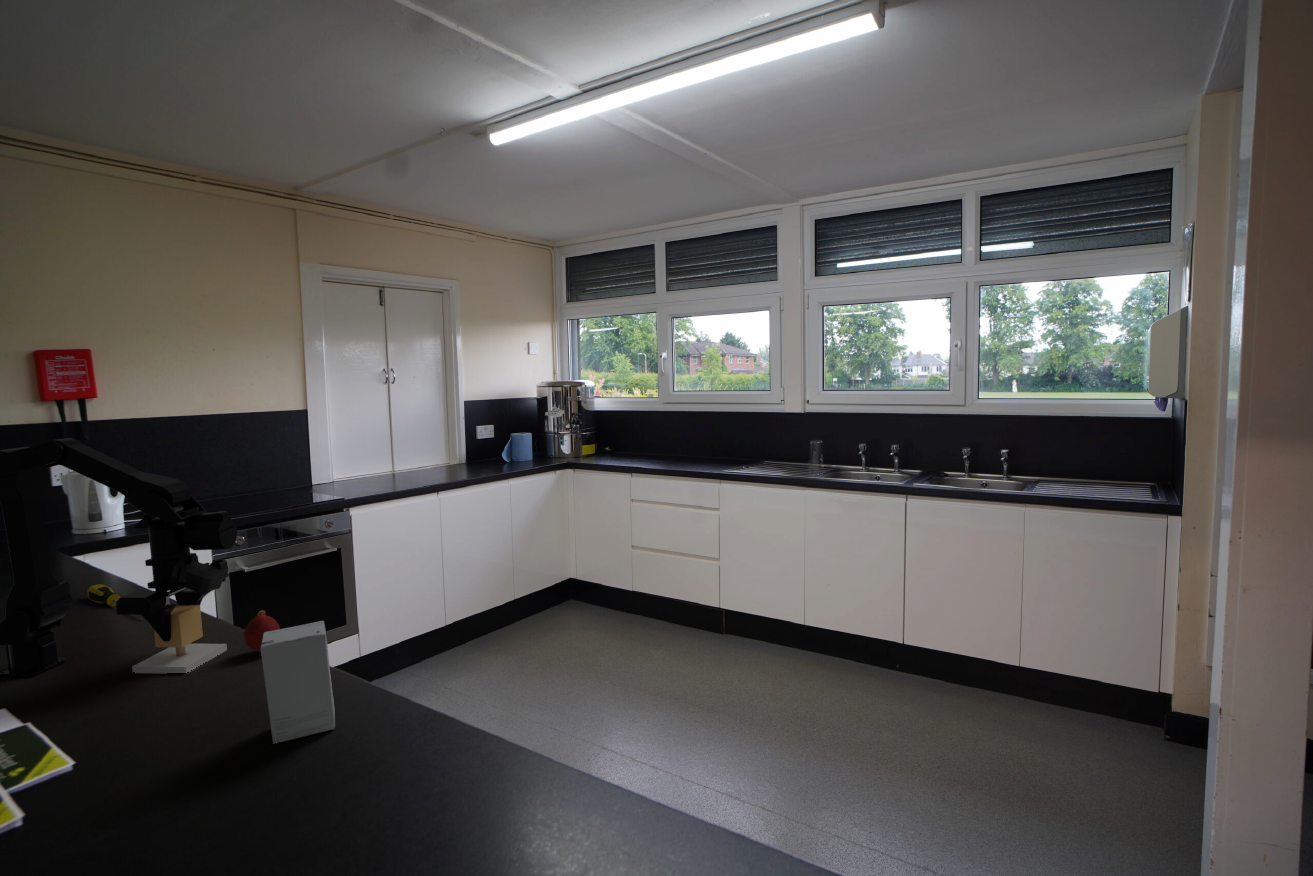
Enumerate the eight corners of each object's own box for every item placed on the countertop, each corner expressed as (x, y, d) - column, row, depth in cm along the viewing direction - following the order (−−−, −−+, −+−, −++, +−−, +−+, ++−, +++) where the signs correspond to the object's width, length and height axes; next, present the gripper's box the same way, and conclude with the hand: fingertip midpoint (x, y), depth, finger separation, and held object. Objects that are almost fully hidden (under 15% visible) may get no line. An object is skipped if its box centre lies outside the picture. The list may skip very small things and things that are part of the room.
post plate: (132, 673, 119) (129, 641, 118) (177, 649, 129) (174, 620, 128) (186, 673, 118) (183, 642, 118) (227, 650, 128) (224, 620, 128)
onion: (265, 660, 123) (261, 617, 122) (238, 658, 124) (234, 616, 123) (288, 647, 129) (285, 606, 128) (262, 645, 130) (259, 605, 129)
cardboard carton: (155, 647, 121) (152, 614, 120) (177, 636, 126) (174, 604, 125) (182, 647, 121) (178, 614, 120) (202, 636, 125) (200, 605, 125)
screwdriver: (84, 586, 160) (136, 610, 143) (102, 582, 163) (155, 605, 146) (86, 600, 160) (137, 626, 144) (104, 596, 163) (156, 621, 146)
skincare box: (334, 713, 103) (327, 618, 102) (335, 731, 98) (327, 632, 96) (271, 727, 100) (263, 629, 98) (268, 747, 94) (259, 643, 93)
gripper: (171, 566, 112) (180, 657, 113) (248, 538, 130) (255, 617, 132) (108, 566, 113) (118, 656, 114) (193, 538, 131) (201, 616, 133)
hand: (178, 635), depth 123 cm, fingers closed on cardboard carton, 5 cm apart
